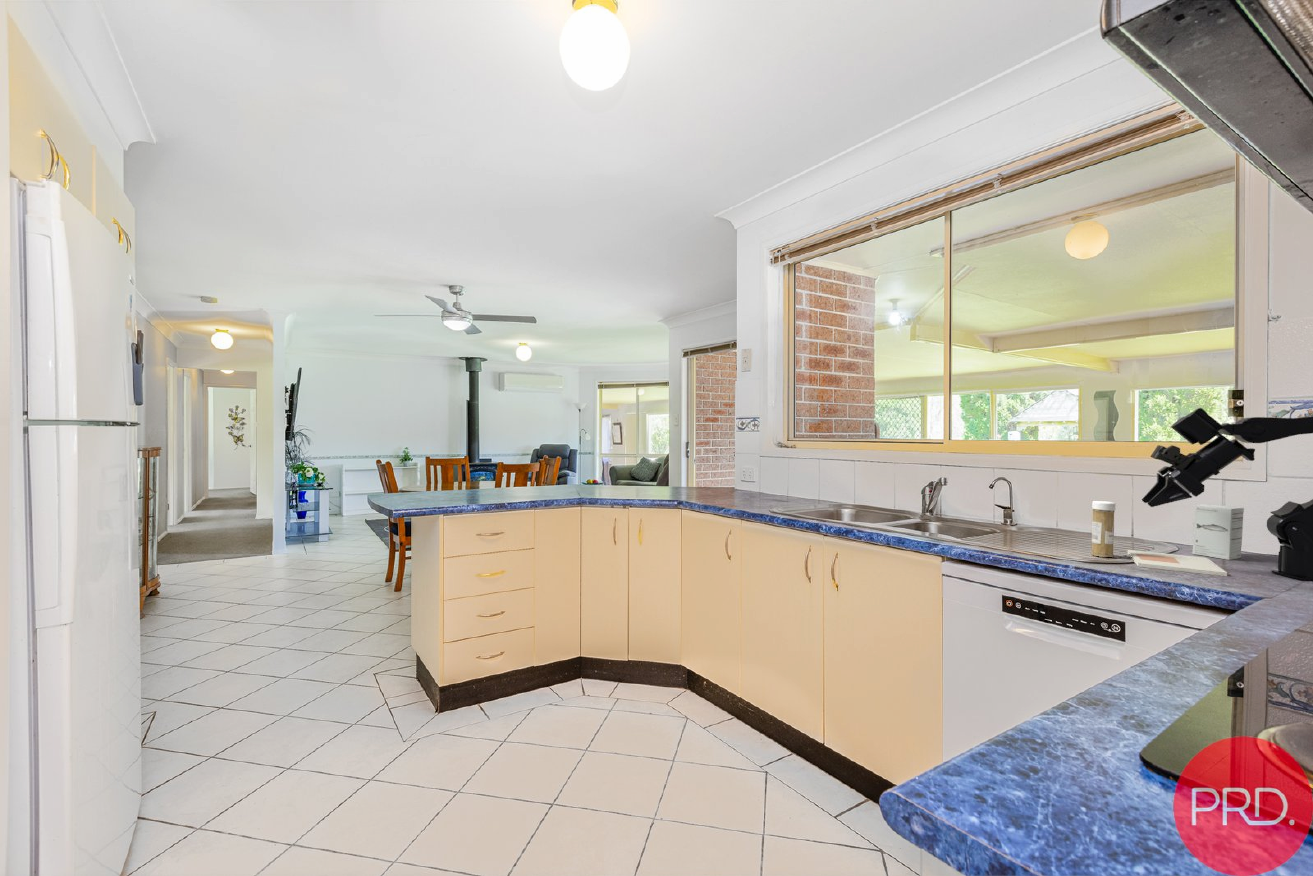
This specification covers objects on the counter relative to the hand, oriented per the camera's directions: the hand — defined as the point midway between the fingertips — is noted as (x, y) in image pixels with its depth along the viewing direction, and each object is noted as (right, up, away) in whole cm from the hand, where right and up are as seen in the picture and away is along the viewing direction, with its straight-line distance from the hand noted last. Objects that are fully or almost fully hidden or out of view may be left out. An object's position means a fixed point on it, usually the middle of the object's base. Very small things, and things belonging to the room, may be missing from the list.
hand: (1146, 503), depth 143 cm
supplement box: (+24, -14, +7) cm, 28 cm away
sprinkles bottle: (-7, -14, +5) cm, 16 cm away
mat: (+4, -14, -2) cm, 15 cm away
